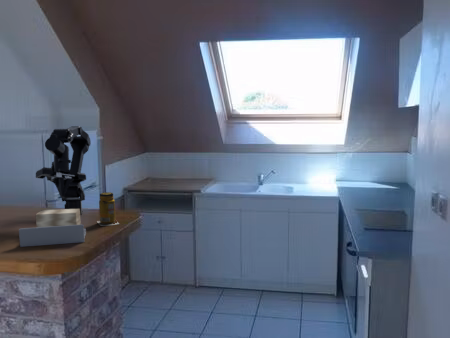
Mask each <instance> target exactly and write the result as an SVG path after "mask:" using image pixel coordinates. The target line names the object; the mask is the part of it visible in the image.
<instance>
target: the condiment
mask: <svg viewBox="0 0 450 338" xmlns="http://www.w3.org/2000/svg"><path fill="white" fill-rule="evenodd" d="M98 209H99V210H98V211H99V220H97V221H96V222H97V223H98V225H99V226H100V227H106V226H115V225H120V223H119V222H118V221H117V220H116V201H115V199H114V193H113V192H111V191H110V192H109V191H107V192H101V193H99V201H98ZM115 220H116V221H117V223H115ZM113 223H115V224H113Z"/></svg>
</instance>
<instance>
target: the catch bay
mask: <svg viewBox="0 0 450 338" xmlns="http://www.w3.org/2000/svg"><path fill="white" fill-rule="evenodd" d="M84 227H85V225H84V223H83V224H82V223H81V225H66V226H51V227H37V226H36V227H24V228H23V227H21V228H19V229H18V235H19V238H18V239H19V246H20V248H22V247H35V246H37V247H38V246H49V245H59V244H60V245H61V244H76V243H85V238H86V236H87V235H86V234H87V229H86V228H84Z"/></svg>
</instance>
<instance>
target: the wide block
mask: <svg viewBox="0 0 450 338" xmlns="http://www.w3.org/2000/svg"><path fill="white" fill-rule="evenodd" d="M35 221H36V224H35V225H36V227H51V226H66V225H81V224H82V222H81V215H80V209H65V208H61V209H41V210H40V211H39V212H37V213H36V214H35Z"/></svg>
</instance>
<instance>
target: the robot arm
mask: <svg viewBox="0 0 450 338" xmlns="http://www.w3.org/2000/svg"><path fill="white" fill-rule="evenodd" d="M82 127H83V126H79V125H77V126H76V125H75V126H69V127H67V128H54V129H53V130H52V132H51V134H50V136H49V137H48V138H47V139H46V140H45V141H44V147H45V148H46V150H47V151H48V152H49V153H51V154H52V155H53V161H52V162H51V166H50V167H45V166H43V167H42V168H40V169H37V170H36V172H35V178H36V179H42V180H44V179H45V178H46V180H47V181H50V182H51V183H53V184H54V185H55V188H56V189H57V192H58V194H59V196H60V198H61V202H65V204H64V209H80V216H82V214H83V203H82V202H83V201H85V200H86V194H85V192H84V190H83V186H82V184H81V183H82V182H85V181H86V180H87V174H86V173H84V172H82V168H83V162H84V156H85V154H86V153H87V152H89V150H90V147H91V138H90V136H89V133H88V132H86V131H85V130H83V128H82ZM67 144H69V145H70V147H71V149H72V156H71V159H70V155H69V154H70V148H69V146H68V145H67Z"/></svg>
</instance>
